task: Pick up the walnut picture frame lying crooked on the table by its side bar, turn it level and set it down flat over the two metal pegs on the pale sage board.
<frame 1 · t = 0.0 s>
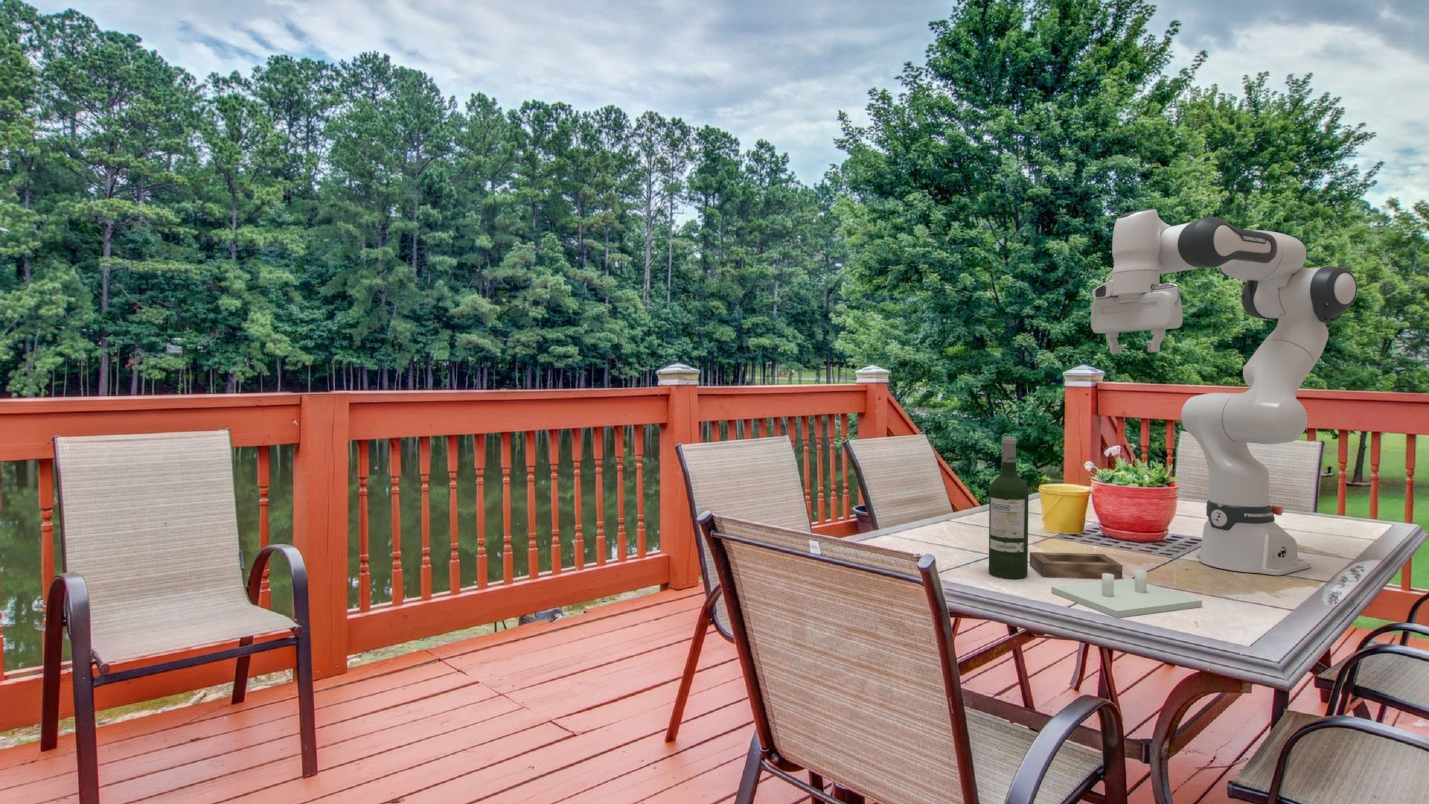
hand: (1134, 352, 157), 48 cm above the table, tool pointing down, fingers open, 8 cm apart
wine bottle: (1008, 575, 161), on the table
frame: (1074, 572, 163), on the table
board: (1124, 599, 143), on the table
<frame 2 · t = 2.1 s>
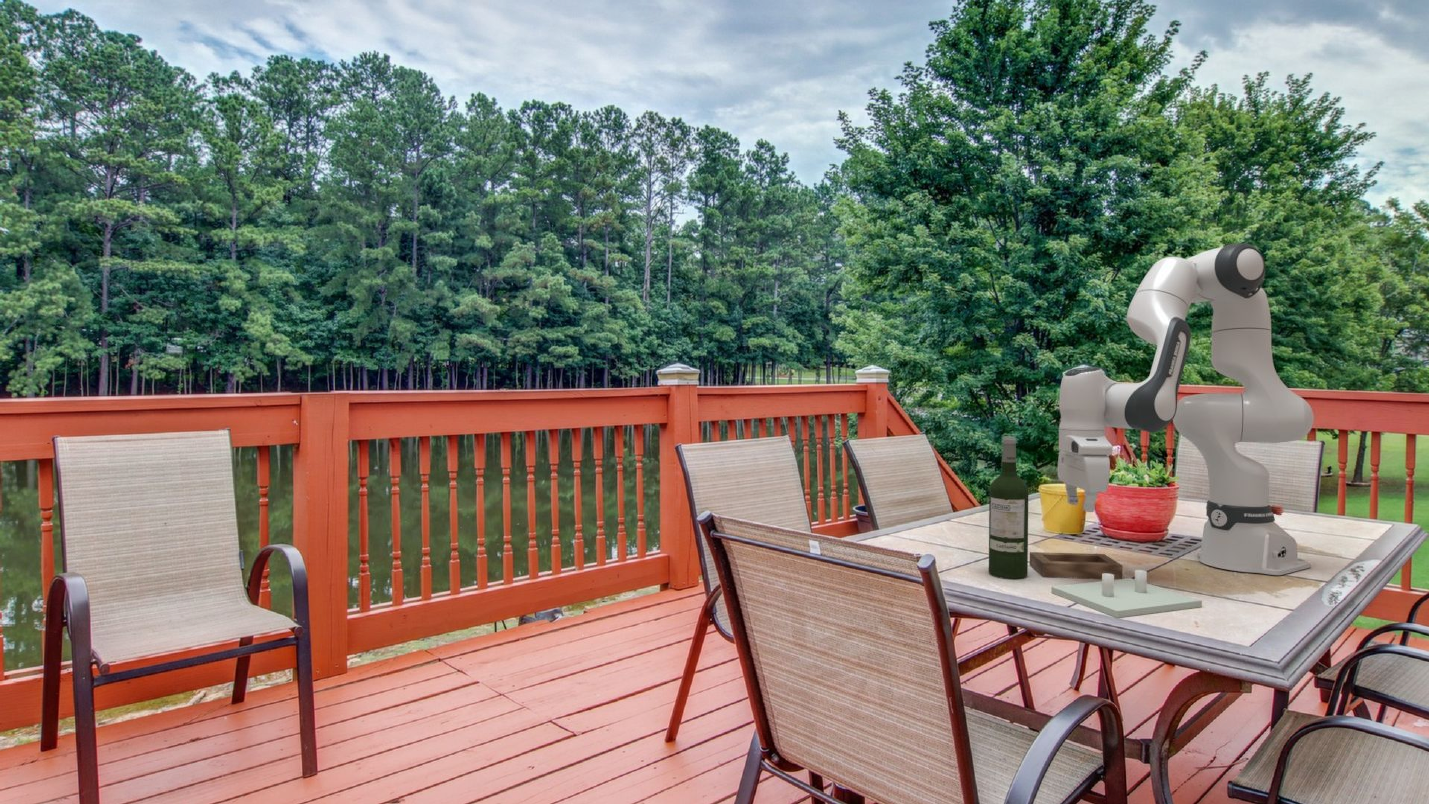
hand: (1080, 507, 158), 15 cm above the table, tool pointing down, fingers open, 8 cm apart
nothing on the table moved.
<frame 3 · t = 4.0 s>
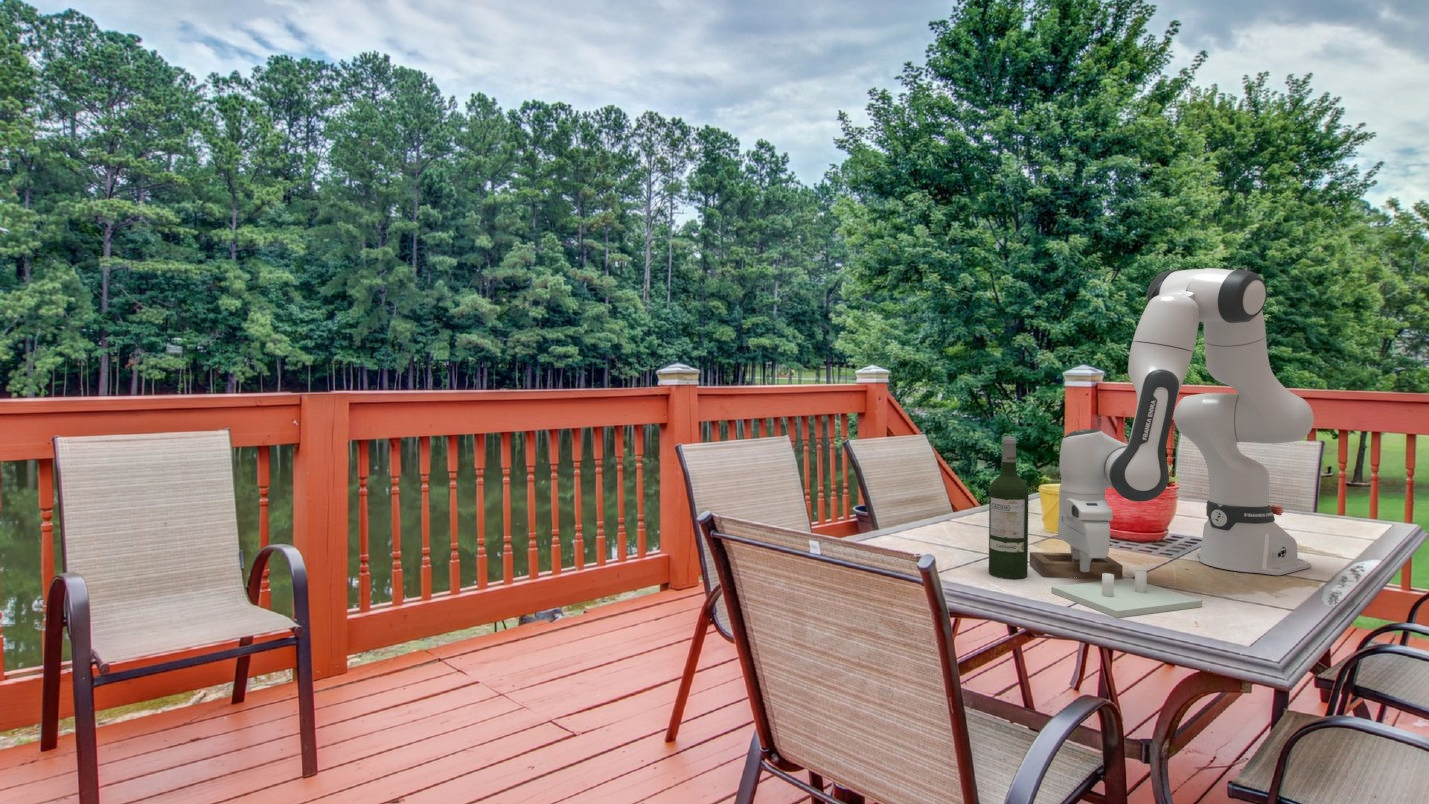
hand: (1080, 569, 159), 2 cm above the table, tool pointing down, fingers closed on frame, 2 cm apart
frame: (1074, 572, 163), on the table, touching gripper
everything else where it was.
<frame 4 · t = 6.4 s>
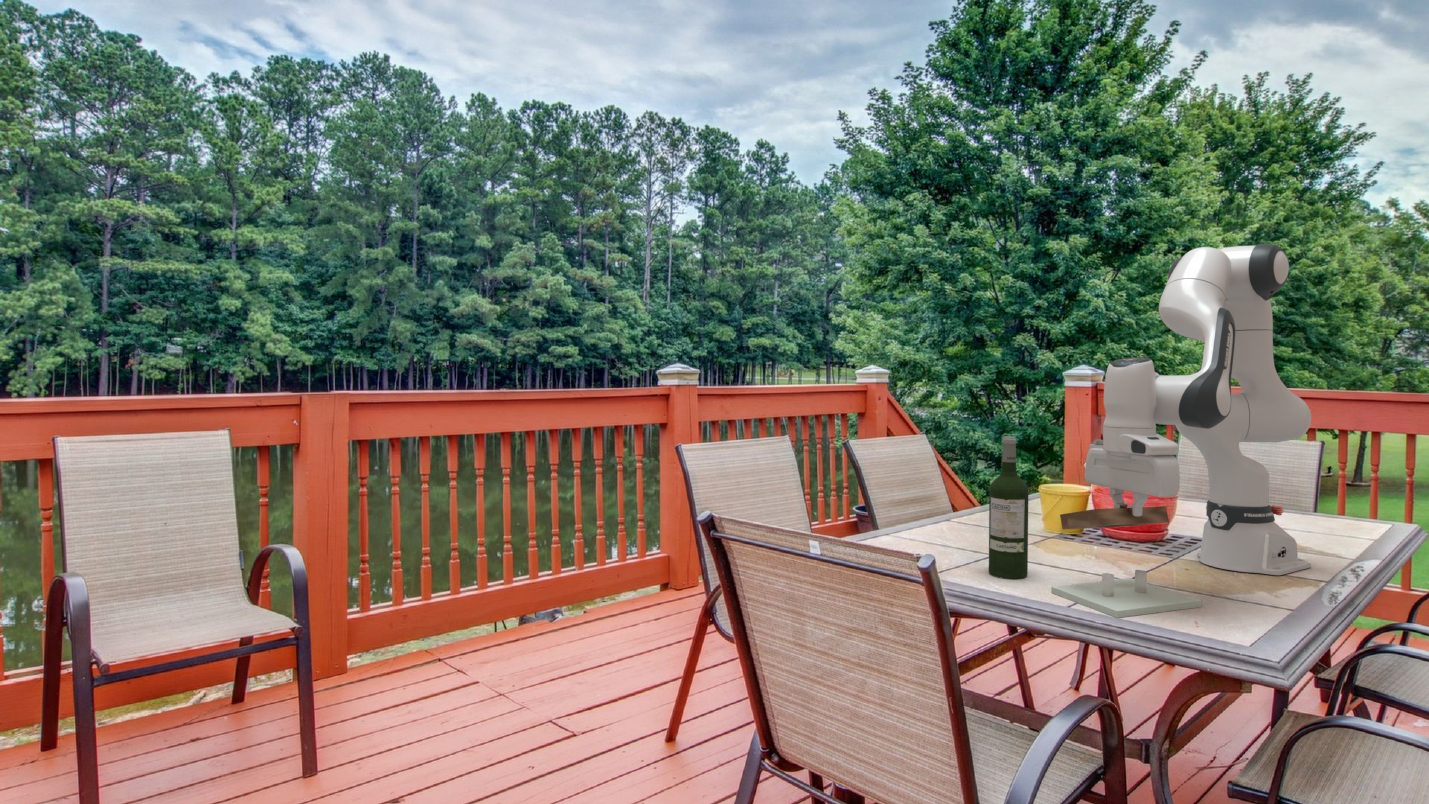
hand: (1128, 514, 142), 17 cm above the table, tool pointing down, fingers closed on frame, 2 cm apart
frame: (1114, 525, 145), point 14 cm above the table, tilted 16°, touching gripper
everything else where it was.
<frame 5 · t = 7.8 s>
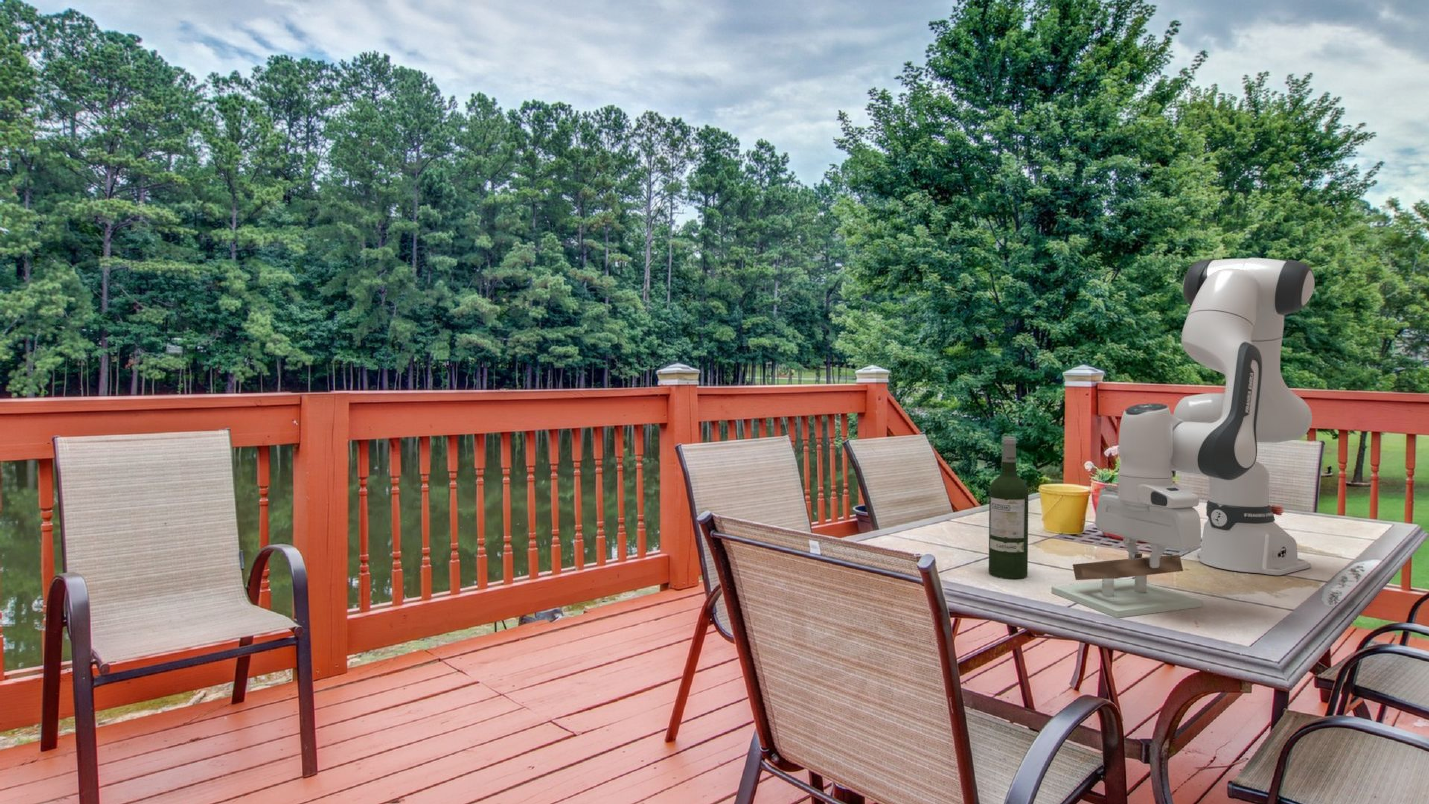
hand: (1143, 564, 138), 8 cm above the table, tool pointing down, fingers closed on frame, 2 cm apart
frame: (1128, 575, 141), point 5 cm above the table, tilted 17°, touching gripper
everything else where it was.
when the fingers open (4 cm above the table, at t = 8.8 s): frame stays where it is, resting on board.
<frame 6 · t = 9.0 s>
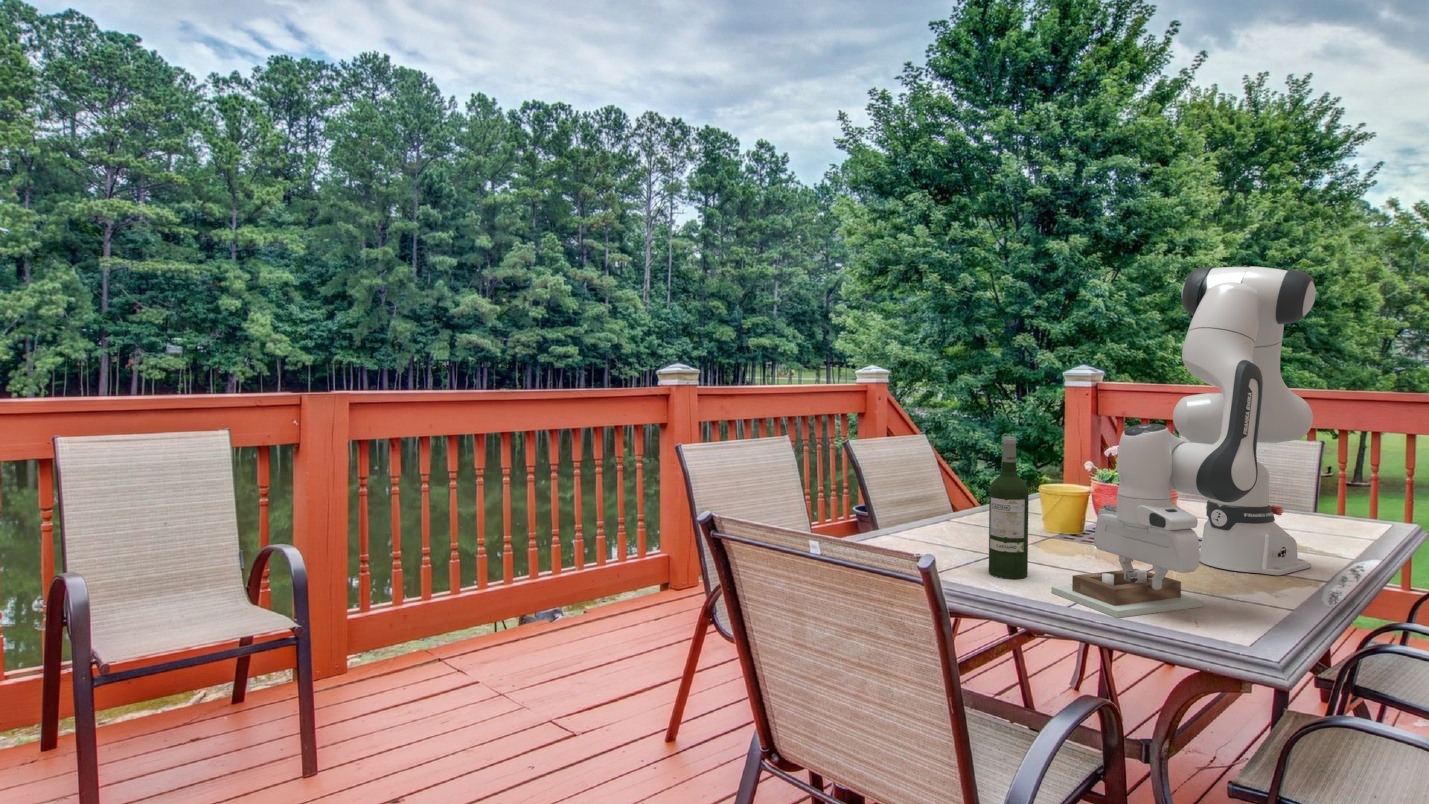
hand: (1142, 584, 139), 4 cm above the table, tool pointing down, fingers open, 4 cm apart
frame: (1125, 594, 142), point 1 cm above the table, touching board
everything else where it was.
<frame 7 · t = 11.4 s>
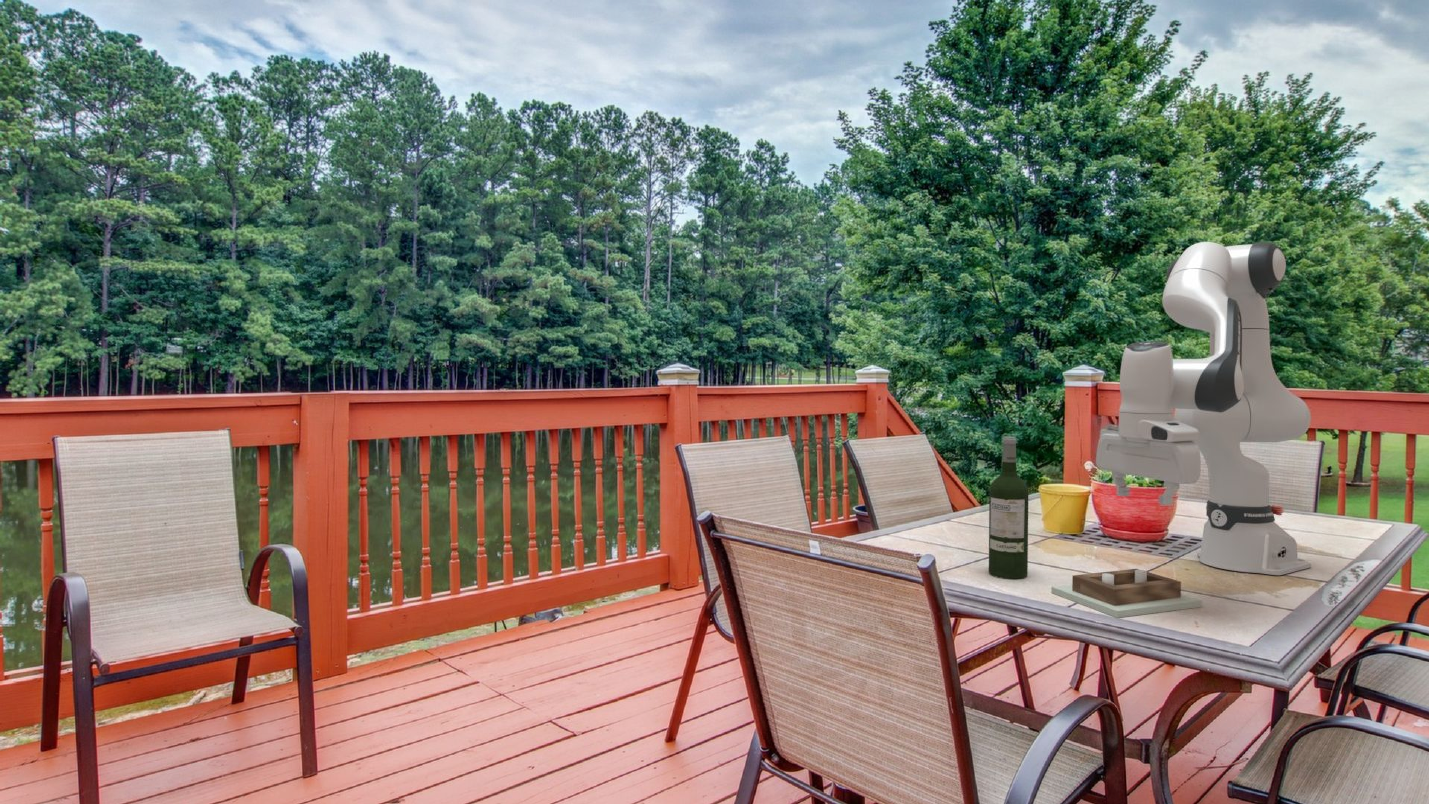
hand: (1143, 500, 140), 20 cm above the table, tool pointing down, fingers open, 8 cm apart
nothing on the table moved.
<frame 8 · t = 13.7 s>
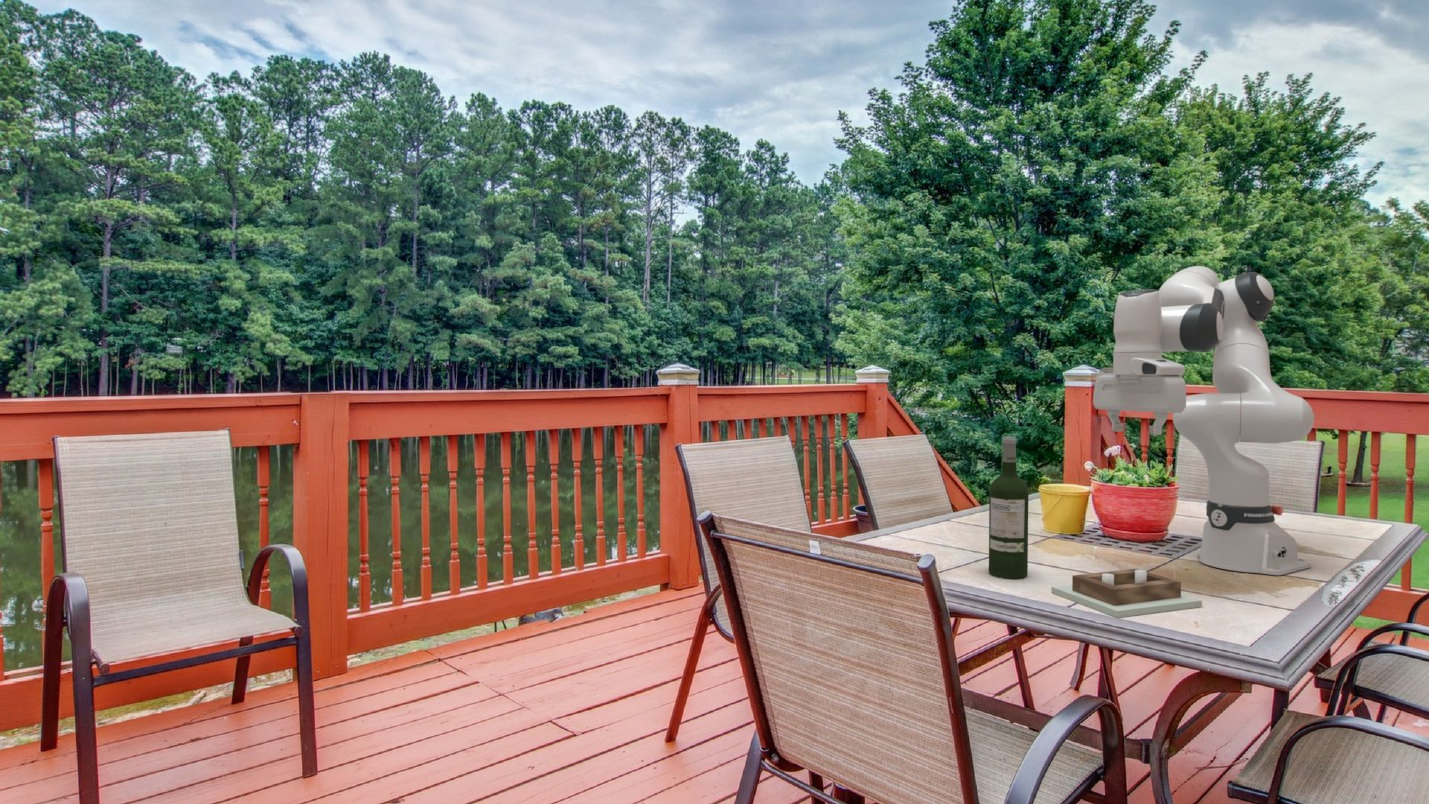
hand: (1136, 433, 155), 31 cm above the table, tool pointing down, fingers open, 8 cm apart
nothing on the table moved.
at the end: frame 0.4 cm off-centre on the board, point 1.2 cm above the board's base; frame tilted 0°; the gripper is holding nothing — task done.
